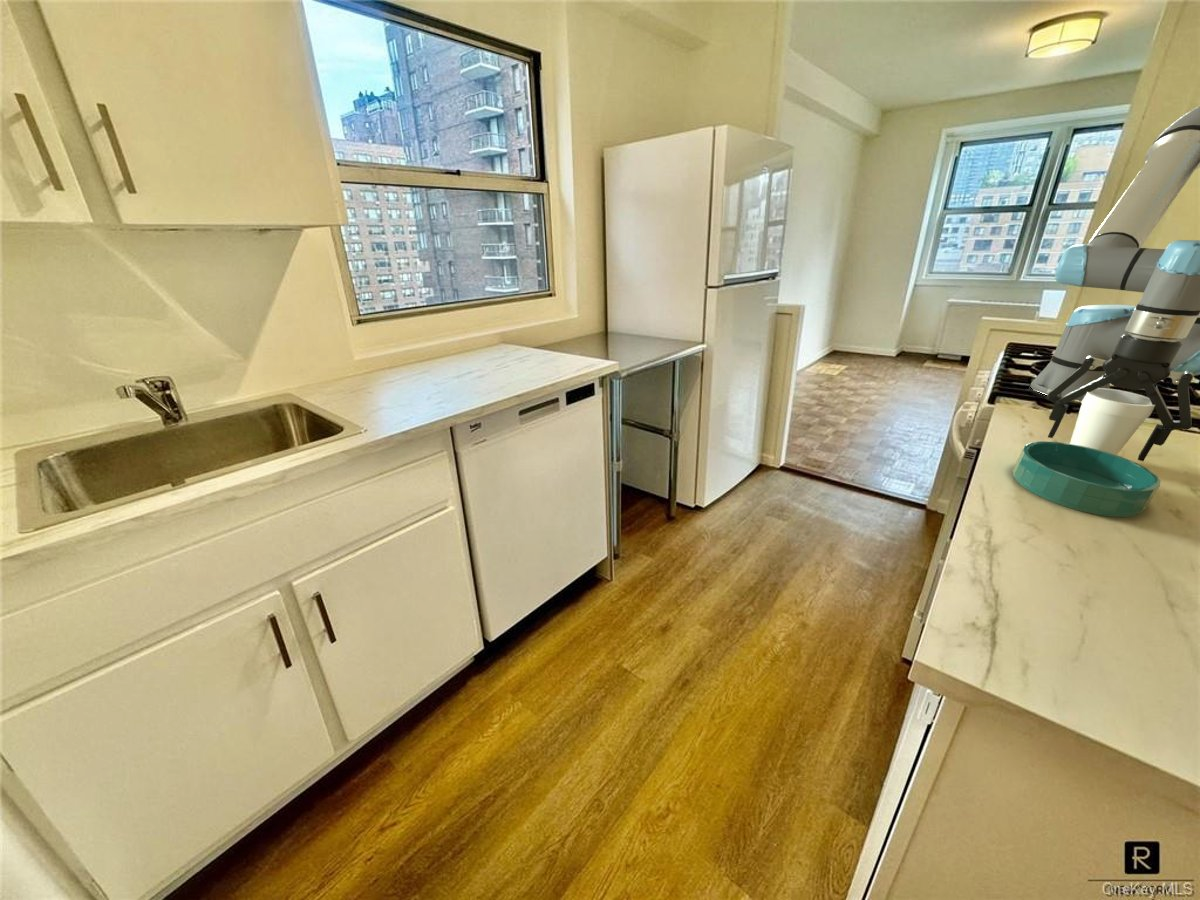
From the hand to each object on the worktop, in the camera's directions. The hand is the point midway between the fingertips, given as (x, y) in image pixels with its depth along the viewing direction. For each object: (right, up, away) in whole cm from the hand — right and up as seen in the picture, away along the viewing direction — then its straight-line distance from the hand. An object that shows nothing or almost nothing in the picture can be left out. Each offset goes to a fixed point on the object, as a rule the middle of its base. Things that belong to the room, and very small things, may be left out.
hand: (1093, 446), depth 94 cm
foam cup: (0, -2, +1) cm, 3 cm away
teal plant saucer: (-13, -7, -9) cm, 17 cm away
